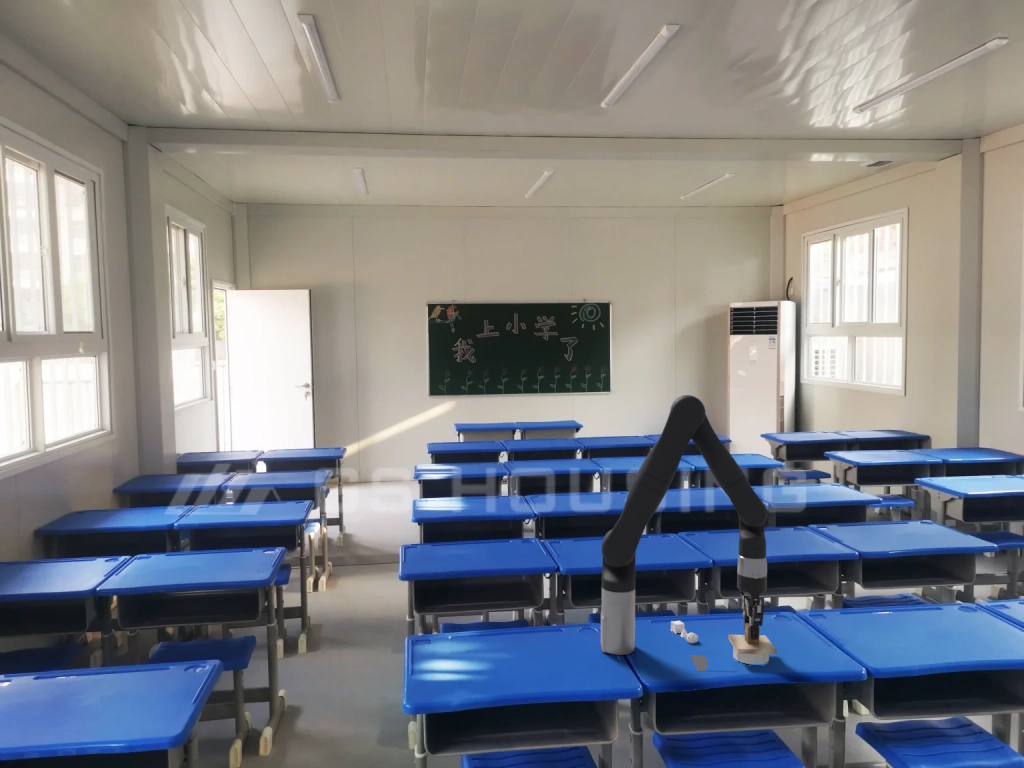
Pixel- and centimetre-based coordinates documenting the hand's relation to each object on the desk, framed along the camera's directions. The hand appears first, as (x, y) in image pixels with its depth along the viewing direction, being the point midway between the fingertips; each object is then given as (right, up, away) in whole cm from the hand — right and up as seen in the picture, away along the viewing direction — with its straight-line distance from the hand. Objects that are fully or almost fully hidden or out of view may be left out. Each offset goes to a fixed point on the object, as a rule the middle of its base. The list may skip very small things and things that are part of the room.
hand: (751, 635), depth 192 cm
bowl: (0, -7, 0) cm, 7 cm away
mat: (-11, -7, -3) cm, 13 cm away
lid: (0, -3, 0) cm, 3 cm away
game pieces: (-14, -7, +16) cm, 23 cm away
